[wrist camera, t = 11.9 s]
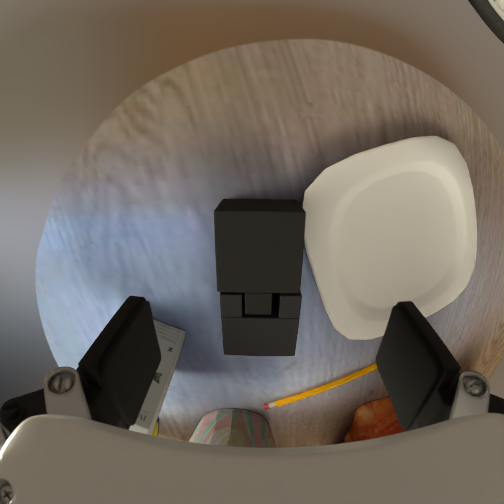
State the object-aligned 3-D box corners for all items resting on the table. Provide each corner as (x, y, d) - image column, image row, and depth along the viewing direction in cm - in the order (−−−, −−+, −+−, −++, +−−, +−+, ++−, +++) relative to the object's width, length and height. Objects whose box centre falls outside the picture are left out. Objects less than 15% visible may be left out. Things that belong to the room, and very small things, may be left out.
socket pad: (226, 269, 24) (219, 294, 20) (295, 270, 24) (301, 295, 20) (228, 324, 26) (223, 354, 22) (290, 325, 26) (294, 356, 22)
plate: (277, 177, 21) (279, 179, 19) (451, 125, 18) (461, 125, 17) (334, 345, 27) (338, 356, 25) (469, 284, 24) (477, 291, 22)
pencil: (263, 403, 31) (263, 407, 30) (400, 349, 27) (403, 352, 27) (266, 406, 31) (266, 410, 30) (401, 353, 28) (403, 356, 27)
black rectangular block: (222, 198, 22) (213, 210, 18) (297, 199, 22) (306, 212, 17) (225, 286, 25) (218, 313, 20) (291, 287, 24) (297, 315, 20)
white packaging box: (188, 329, 27) (152, 431, 15) (173, 372, 29) (144, 461, 17) (123, 302, 26) (61, 387, 14) (117, 348, 28) (71, 427, 16)
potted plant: (142, 387, 31) (83, 549, 7) (293, 382, 29) (310, 589, 6) (185, 450, 37) (161, 567, 14) (299, 447, 35) (307, 578, 12)
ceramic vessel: (443, 364, 28) (488, 441, 14) (389, 451, 38) (405, 509, 24) (358, 381, 29) (390, 484, 15) (324, 464, 38) (332, 528, 24)
